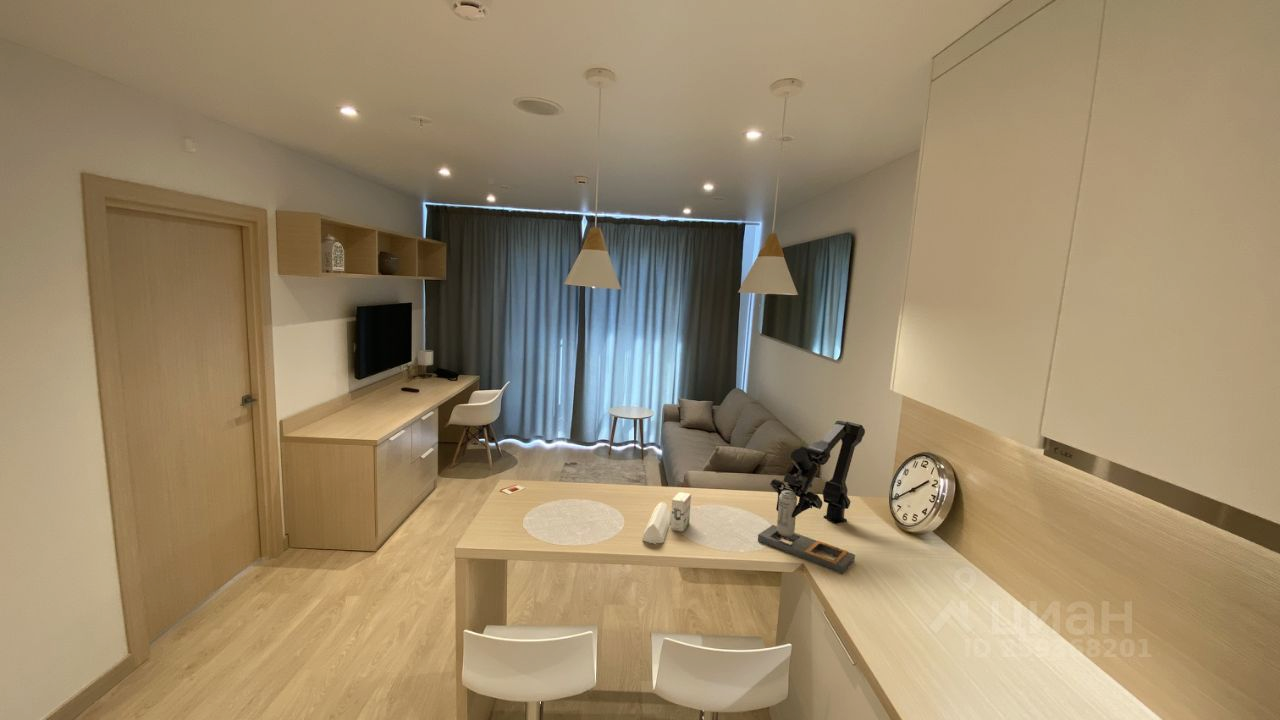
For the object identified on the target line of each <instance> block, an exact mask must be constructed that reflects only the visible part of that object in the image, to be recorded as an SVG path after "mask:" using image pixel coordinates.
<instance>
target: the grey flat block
mask: <svg viewBox="0 0 1280 720" xmlns="http://www.w3.org/2000/svg"><path fill="white" fill-rule="evenodd" d="M778 537H782V538H784V539H787V540H790V541H792V543H790V544H789V543H787V542H785V541H782V540H779V539H777V538H778ZM757 542H760V543H761V544H764V545H767V546H769V547H772V548H774V549H776V550H778V551H782V552H784V553H787V554H789V555H792V556H794V557H797V558H800V559H801V560H805V561H807V562H809V563H813V564H815V565H818V566H820V567H822V568H825V569H828V570H830V571H833V572H834V573H838V574H841V575H843V574H844V573H845V572H846V571H847V570H848V569H849V568H850V567H851V566H852V565H853V564H854V563H855V559H856V554H854V553H851V552H849V551H848V550H845V549H842V548H840V547H837V546H834V545H831V544H828V543H825V542H823V541H820V540H816V539H813V538H811V537H807V536H805V535H803V534H800V533H797V532H794V533H793V535H792V536H782V535H780V534H779V533H778V531H777V525H775V524H772V525H770V526H769V527H767V528H765V530H763V531H761V532H760V533H758V534H757ZM818 552H821V553H825V554H827V555H830V556H832V557H835V558H834V559H831V558H829V557H826V556H823V555H821V554H818Z"/></svg>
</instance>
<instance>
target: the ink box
mask: <svg viewBox="0 0 1280 720" xmlns="http://www.w3.org/2000/svg"><path fill="white" fill-rule="evenodd" d="M691 497H692V493H689V492H682V491H679V492H678V493H677V494H676V495H675V496H674V497H673V498H672V499H671V512H670V513H671V521H670V530H673V531H678V532H681V531H683V532H684V531H685V530H686V528H687V527H688V525H689V524H690V517H691V500H692V498H691Z"/></svg>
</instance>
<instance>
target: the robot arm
mask: <svg viewBox="0 0 1280 720" xmlns="http://www.w3.org/2000/svg"><path fill="white" fill-rule="evenodd" d="M865 434H866V430H865V428H864V426H863V425H862V424H859V423H854V422H850V421H842V420H836V421H835V423H834V425H833V427H832V428H830V430H829V431H827V432H826V434H825V435H824V436H823V438H822V439H821V440H819V441H815V442H812V444H810V445H809V446H808V447H806V446H803V445H801V446H800V448H797V449H794V450H793V451H792V452H791V453H790V460H791V461H792V462H793V463H794V465H795V467H796V468H797V469H798V472H797V473H793V474H791V473H788V472H787V473H785V474H784V477H783V480H782V481H781V480H779V479H776V478H774V479H772V480H771V482H770V483H769V485H770V486H771V488H772V490H774V492H776V493H777V501H776V512H778V506H779V496H780V494H781V491H783V490H790V491H793V492H795V494H796V497H797V498H799V499H798V502H797V506H796V508H795V509H794V511H793V513H792V518H794V517H795V516H796V517H797V516H799V515H800V514H802V513H803V512H806V510H809V509H813V508H815V509H818V510H821V508H822V507H823V503H827V507H826V513H825V515H823V518H824V519H826V520H828V521H830V522H831V523H834V524H840V523H844V522H847V520H848V519H847V518H845V510H847V509H849V507H850V505H851V500H850V498H849V497H848V487H847V484H846V482H847V477H848V473H849V470H850V466H851V462H852V459H853V456H854V451H855V449H856V446H858V445H859V444H860V443H861V442H862V440H863V437H864V436H865ZM840 441H841V447H840V450H839V453H838V457H837V461H836V465H835V468H834V472H833V475H832V478H831V479H830V480H827V481H825V483H824V487H823V490H822V498H823V501H822V499H821V498H820V496H819V494H817V493H814V492H812V491H808V490H809V488H810V489H811V488H812V487H813V485H812V483H813V482H814V480H815V477H816V475H820V474H821V470H820V466H819V465H821V466H824V465H825V464H827V463H828V461H829V459H830V458H831V451H832V450H833V448H835V447H836V445H837V444H838V443H839V442H840ZM817 464H818V465H817ZM785 483H786V484H787V485H785Z"/></svg>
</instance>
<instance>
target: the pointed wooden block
mask: <svg viewBox="0 0 1280 720" xmlns="http://www.w3.org/2000/svg"><path fill="white" fill-rule="evenodd" d="M671 513H672V512H671V511H670V509H669V507H668V505H667V504H666V502H664V501H660V502H658V504H657V505H656V507H655V508H654V510H653V511H652V514H651V516H650V519H649V520H648V523H647V525H646V527H645V529H644V533H643V535H642V541H643V542H645V541H646V542H645V543H647V542H649V543H648V544H650V543H653V544H652V545H657V544H656V543H660V544H662V543H664V541H665V538H666V535H667V532H668V529H669V527H670V525H671Z"/></svg>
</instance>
